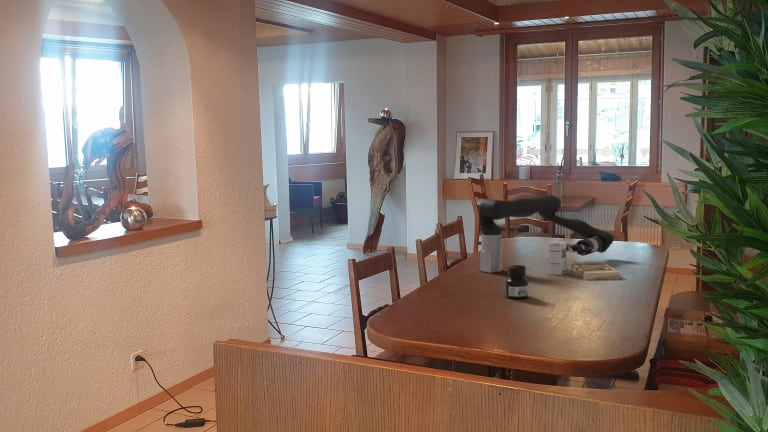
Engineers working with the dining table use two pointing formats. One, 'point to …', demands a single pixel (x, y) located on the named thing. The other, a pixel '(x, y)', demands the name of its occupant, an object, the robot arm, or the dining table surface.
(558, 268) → the syrup box
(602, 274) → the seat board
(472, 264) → the dining table surface
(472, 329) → the dining table surface
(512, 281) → the ink bottle
